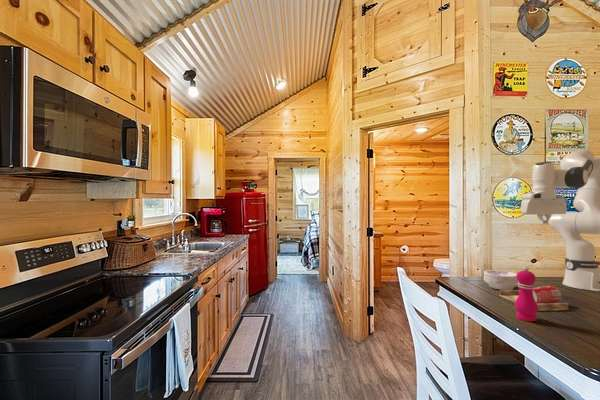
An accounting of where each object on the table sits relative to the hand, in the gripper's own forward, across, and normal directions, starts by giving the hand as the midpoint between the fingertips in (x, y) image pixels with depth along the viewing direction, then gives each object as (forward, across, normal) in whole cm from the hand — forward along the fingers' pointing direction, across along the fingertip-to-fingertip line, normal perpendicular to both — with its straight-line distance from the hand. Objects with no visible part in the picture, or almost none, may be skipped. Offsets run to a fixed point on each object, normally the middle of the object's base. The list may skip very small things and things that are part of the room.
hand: (544, 223), depth 145 cm
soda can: (+30, +6, +12) cm, 33 cm away
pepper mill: (+34, +32, +28) cm, 55 cm away
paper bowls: (+34, +13, -12) cm, 39 cm away
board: (+34, +15, +10) cm, 39 cm away
